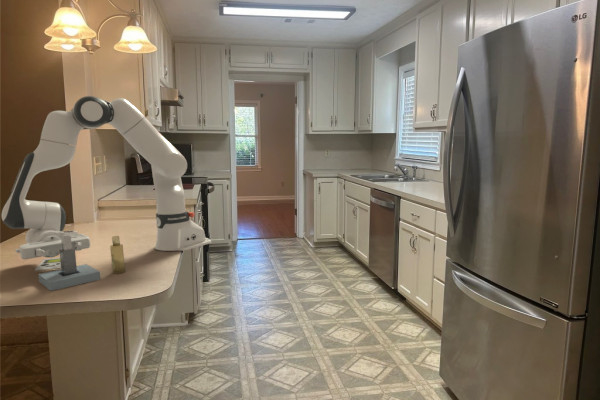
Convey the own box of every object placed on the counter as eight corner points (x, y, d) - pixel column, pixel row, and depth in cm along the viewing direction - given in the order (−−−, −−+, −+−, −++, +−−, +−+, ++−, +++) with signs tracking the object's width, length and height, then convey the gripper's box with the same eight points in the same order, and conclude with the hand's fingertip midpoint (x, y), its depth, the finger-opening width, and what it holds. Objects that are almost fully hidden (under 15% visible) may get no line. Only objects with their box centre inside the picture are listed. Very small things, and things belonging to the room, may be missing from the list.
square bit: (74, 277, 134) (70, 234, 132) (77, 280, 132) (73, 236, 130) (62, 280, 132) (58, 236, 130) (65, 283, 130) (61, 238, 128)
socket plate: (86, 271, 141) (86, 264, 141) (100, 279, 133) (99, 271, 132) (39, 281, 131) (38, 273, 131) (50, 290, 123) (49, 282, 122)
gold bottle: (122, 269, 142) (119, 234, 141) (126, 271, 139) (123, 236, 138) (111, 272, 140) (107, 236, 138) (114, 274, 137) (111, 238, 135)
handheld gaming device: (33, 270, 142) (44, 258, 156) (33, 272, 142) (44, 260, 156) (62, 267, 145) (70, 255, 159) (63, 269, 145) (70, 257, 159)
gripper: (12, 240, 135) (23, 247, 126) (80, 229, 150) (95, 235, 140) (14, 259, 136) (26, 267, 126) (82, 247, 151) (97, 254, 141)
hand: (63, 250), depth 133 cm, fingers open, 8 cm apart
